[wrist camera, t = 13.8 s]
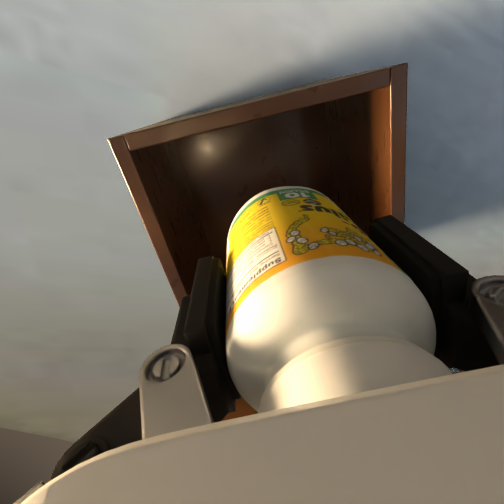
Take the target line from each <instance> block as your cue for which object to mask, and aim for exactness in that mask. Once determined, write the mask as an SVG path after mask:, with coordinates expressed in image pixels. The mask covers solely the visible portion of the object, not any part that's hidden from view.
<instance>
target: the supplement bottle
mask: <svg viewBox="0 0 504 504" xmlns="http://www.w3.org/2000/svg"><path fill="white" fill-rule="evenodd" d="M226 268H227V270H226V320H225V346H226V360H227V366H228V370H229V373H230V376H231V379H232V381H233V383H234V385H235V387H236V389H237V390H238V392H239V393H240V395H241V396H242V397H243V398H244V399H245V401H246V402H247V403H248V404H249V405H250V406H251V407H252V408H254V409H255V410H256V411H258V413H263V412H268V411H273V410H278V409H282V408H287V407H292V406H297V405H302V404H307V403H311V402H316V401H321V400H326V399H331V398H336V397H341V396H346V395H351V394H356V393H361V392H366V391H371V390H376V389H381V388H386V387H391V386H396V385H401V384H406V383H411V382H416V381H421V380H426V379H431V378H436V377H441V376H446V375H451V374H452V372H451V371H450V369H449V368H448V367H447V366H446V365H445V364H444V363H443V362H442V361H440V360H439V359H438V358H436V357H435V356H434V352H435V347H436V326H435V321H434V317H433V314H432V311H431V308H430V306H429V304H428V302H427V300H426V299H425V297H424V295H423V294H422V293H421V291H420V290H419V289H418V287H417V286H416V285H415V284H414V282H413V281H412V280H411V278H410V277H409V276H408V275H407V274H406V273H405V272H404V271H403V270H402V269H400V268H399V267H398V266H397V265H396V264H395V263H394V262H393V261H392V260H391V259H390V258H389V257H388V256H387V255H386V254H385V253H384V252H383V251H382V250H381V249H380V248H379V247H378V246H377V245H376V244H375V243H374V242H373V241H372V240H371V239H370V238H369V237H368V236H367V235H366V234H365V233H364V232H363V231H362V230H361V229H360V228H359V227H358V226H357V225H356V224H355V223H354V222H353V221H352V220H351V219H350V218H349V217H348V216H347V215H346V214H345V213H344V212H343V211H342V210H341V209H340V208H339V207H338V206H337V205H336V204H335V203H334V202H333V201H331V200H330V199H329V198H328V197H326V196H325V195H323V194H322V193H320V192H318V191H316V190H313V189H310V188H307V187H299V186H283V187H276V188H272V189H268V190H265V191H263V192H261V193H259V194H257V195H255V196H254V197H253V198H251V199H250V200H249V201H248V202H247V203H245V204H244V205H243V207H242V208H241V209H240V210H239V212H238V213H237V214H236V216H235V218H234V220H233V222H232V224H231V227H230V230H229V234H228V239H227V265H226Z"/></svg>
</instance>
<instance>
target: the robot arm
mask: <svg viewBox="0 0 504 504" xmlns="http://www.w3.org/2000/svg"><path fill="white" fill-rule="evenodd" d="M369 238H370V239H371V240H372V241H373V242H374V243H375V244H376V245H377V246H378V247H379V248H380V249H381V250H382V251H383V252H384V253H385V254H386V255H387V256H388V257H389V258H390V259H391V260H392V261H393V262H394V263H395V264H396V265H397V266H398V267H399V268H400V269H402V270H403V271H404V272H405V273H406V274H407V275H408V276H409V277H410V278H411V280H412V281H413V282H414V284H415V285H416V286H417V287H418V289H419V290H420V291H421V293H422V294H423V295H424V297H425V299H426V300H427V302H428V304H429V306H430V308H431V311H432V314H433V317H434V321H435V326H436V347H435V352H434V356H435V357H436V358H438V359H439V360H440V361H442V362H443V363H444V364H445V365H446V366H447V367H448V368H453V367H454V368H456V369H459V373H456V374H451V375H446V376H441V377H436V378H431V379H426V380H421V381H416V382H411V383H406V384H401V385H396V386H391V387H386V388H381V389H376V390H371V391H366V392H361V393H356V394H351V395H346V396H341V397H336V398H331V399H326V400H321V401H316V402H311V403H307V404H302V405H297V406H292V407H287V408H282V409H278V410H273V411H268V412H263V413H258V414H253V415H249V416H244V417H239V418H234V419H229V420H224V421H222V420H223V418H224V417H225V416H226V415H227V414H228V413H230V412H235V411H236V400H237V399H241V395H240V393H239V392H238V390H237V389H236V387H235V385H234V383H233V381H232V379H231V376H230V373H229V370H228V366H227V360H226V346H225V320H226V276H225V273H224V270H223V266H222V263H221V260H220V258H217V259H215V258H214V256H209V257H205V258H200V259H198V263H197V267H196V272H195V277H194V282H193V286H192V291H191V295H189V296H184V297H183V299H182V301H181V305H180V309H179V314H178V318H177V322H176V326H175V330H174V334H173V338H172V342H171V344H170V345H167V346H164V347H161V348H160V349H158V350H156V351H154V352H153V353H152V354H151V355H150V356H148V358H147V359H146V360H145V361H144V362H143V364H142V366H141V368H140V371H139V388H138V389H137V390H135V391H134V392H133V393H132V394H131V395H130V396H128V397H127V398H126V399H125V400H124V401H123V402H122V403H120V404H119V405H118V406H117V407H116V408H115V409H113V410H112V411H111V412H110V413H109V414H108V415H107V416H105V417H104V418H103V419H102V420H101V421H100V422H98V423H97V424H96V425H95V426H94V427H93V428H91V429H90V430H89V431H88V432H87V433H86V434H85V435H83V436H82V437H81V438H80V439H79V440H78V441H76V442H75V443H74V444H73V445H72V446H71V447H70V448H69V449H68V450H67V451H66V452H65V453H64V455H63V456H62V458H61V459H60V460H59V462H58V463H57V465H56V467H55V469H54V471H53V473H52V477H51V480H50V481H48V482H47V483H46V484H45V483H44V482H43V481H42V480H41V481H40V482H39V483H38V484H37V485H35V486H34V487H33V488H32V489H30V490H29V491H28V492H27V493H25V494H24V495H23V496H22V497H21V498H20V499H18V500H17V501H16V502H15V503H13V504H504V276H497V275H493V276H485V277H482V278H479V279H475V278H474V277H473V276H471V275H470V274H469V271H468V270H466V269H465V268H464V267H462V266H461V265H460V264H458V263H457V262H455V261H454V260H453V259H451V258H450V257H449V256H447V255H446V254H444V253H443V252H442V251H440V250H439V249H438V248H436V247H435V246H433V245H432V244H431V243H429V242H428V241H427V240H425V239H424V238H422V237H421V236H420V235H418V234H417V233H416V232H414V231H413V230H411V229H410V228H409V227H407V226H406V225H405V224H403V223H402V222H400V221H399V220H398V219H396V218H395V217H394V216H392V215H388V216H383V217H379V218H375V219H374V220H373V223H370V224H369Z"/></svg>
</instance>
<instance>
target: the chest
mask: <svg viewBox="0 0 504 504" xmlns="http://www.w3.org/2000/svg"><path fill="white" fill-rule="evenodd" d="M407 68H408V64H407V63H403V64H398V65H393V66H389V67H384V68H379V69H374V70H369V71H365V72H360V73H355V74H350V75H345V76H340V77H336V78H331V79H327V80H323V81H319V82H315V83H311V84H307V85H303V86H299V87H295V88H291V89H287V90H283V91H279V92H276V93H272V94H268V95H264V96H260V97H256V98H252V99H248V100H244V101H240V102H236V103H232V104H228V105H225V106H221V107H217V108H213V109H209V110H205V111H201V112H197V113H193V114H189V115H185V116H181V117H177V118H173V119H170V120H166V121H162V122H158V123H155V124H152V125H149V126H146V127H143V128H140V129H137V130H133V131H130V132H127V133H124V134H121V135H118V136H115V137H112V138H108V142H109V144H110V146H111V149H112V151H113V153H114V156H115V158H116V160H117V163H118V165H119V167H120V170H121V172H122V174H123V176H124V179H125V181H126V183H127V186H128V188H129V190H130V193H131V195H132V197H133V200H134V202H135V204H136V207H137V209H138V211H139V214H140V216H141V218H142V221H143V223H144V225H145V228H146V230H147V232H148V235H149V237H150V239H151V242H152V244H153V246H154V248H155V251H156V253H157V255H158V258H159V260H160V262H161V265H162V267H163V269H164V272H165V274H166V276H167V279H168V281H169V283H170V286H171V288H172V290H173V293H174V295H175V297H176V300H177V302H178V304H179V307H180V305H181V301H182V299H183V297H184V296H189V295H191V291H192V286H193V282H194V277H195V272H196V267H197V263H198V259H200V258H205V257H209V256H214V258H215V259H217V258H220V260H221V263H222V266H223V270H224V273H225V276H226V270H227V268H226V265H227V239H228V234H229V230H230V227H231V224H232V222H233V220H234V218H235V216H236V214H237V213H238V212H239V210H240V209H241V208H242V207H243V205H244V204H245V203H247V202H248V201H249V200H250V199H251V198H253V197H254V196H255V195H257V194H259V193H261V192H263V191H265V190H268V189H272V188H276V187H283V186H299V187H307V188H310V189H313V190H316V191H318V192H320V193H322V194H323V195H325V196H326V197H328V198H329V199H330V200H331V201H333V202H334V203H335V204H336V205H337V206H338V207H339V208H340V209H341V210H342V211H343V212H344V213H345V214H346V215H347V216H348V217H349V218H350V219H351V220H352V221H353V222H354V223H355V224H356V225H357V226H358V227H359V228H360V229H361V230H362V231H363V232H364V233H365V234H366V235H367V236H368V237H369V224H370V223H373V220H374V219H375V218H379V217H383V216H388V215H392V216H394V217H395V218H396V219H398V220H399V221H400V222H402V223H403V224H404V212H405V164H406V116H407Z"/></svg>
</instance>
